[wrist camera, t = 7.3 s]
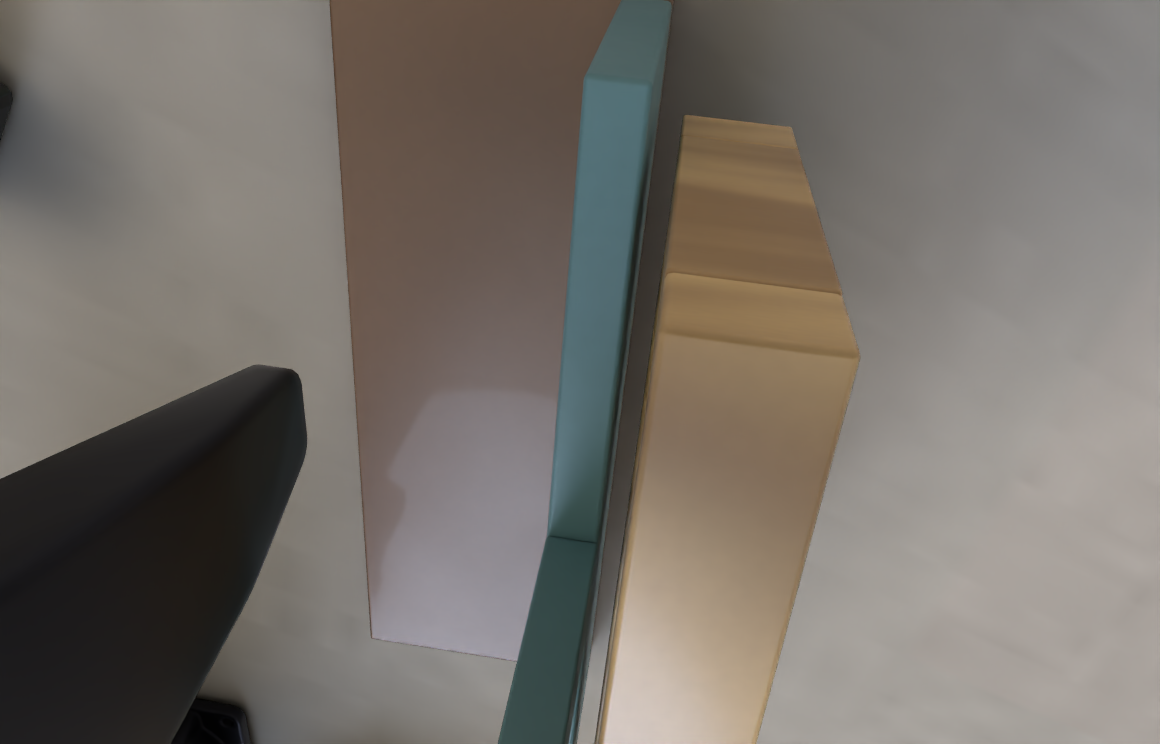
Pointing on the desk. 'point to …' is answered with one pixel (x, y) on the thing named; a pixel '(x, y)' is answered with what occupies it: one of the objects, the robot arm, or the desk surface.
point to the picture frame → (726, 442)
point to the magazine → (4, 106)
